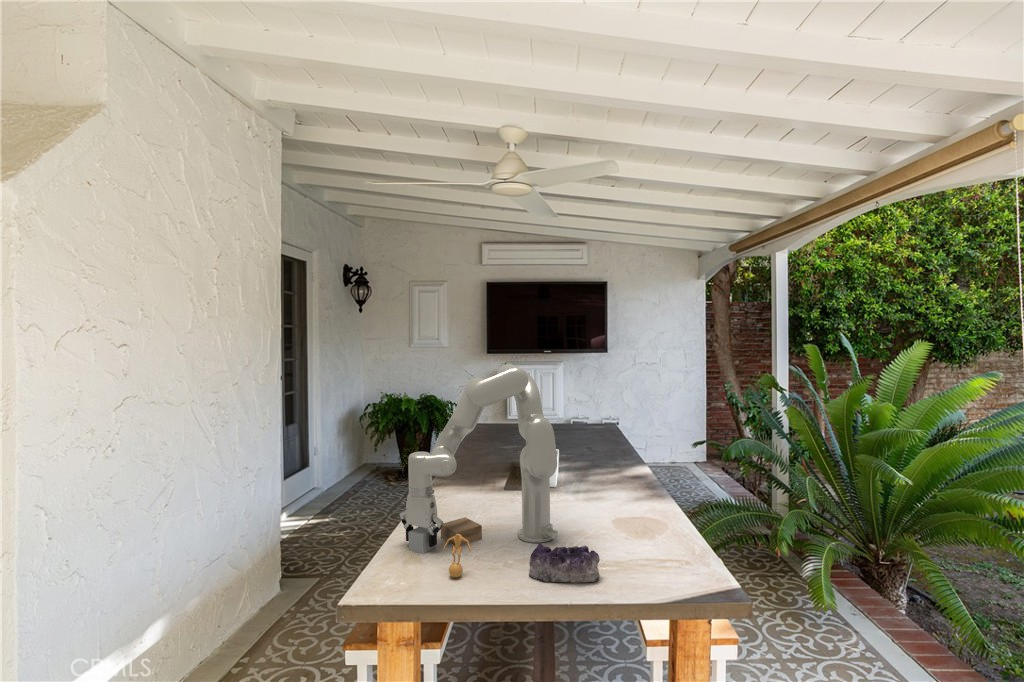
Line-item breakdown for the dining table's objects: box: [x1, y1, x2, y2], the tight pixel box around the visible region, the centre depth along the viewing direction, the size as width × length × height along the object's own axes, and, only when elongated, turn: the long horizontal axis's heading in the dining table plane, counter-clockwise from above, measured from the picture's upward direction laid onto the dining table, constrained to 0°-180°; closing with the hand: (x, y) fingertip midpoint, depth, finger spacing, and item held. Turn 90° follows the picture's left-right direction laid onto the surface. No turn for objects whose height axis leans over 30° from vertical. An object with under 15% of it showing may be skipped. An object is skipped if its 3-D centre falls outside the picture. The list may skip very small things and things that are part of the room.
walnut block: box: [440, 517, 483, 547], centre depth 191 cm, size 10×10×5 cm
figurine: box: [443, 534, 472, 579], centre depth 164 cm, size 8×6×12 cm
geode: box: [528, 542, 600, 584], centre depth 162 cm, size 20×12×10 cm, turn 91°
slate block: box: [408, 526, 436, 555], centre depth 183 cm, size 6×6×6 cm
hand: (421, 542), depth 183 cm, fingers open, 9 cm apart
